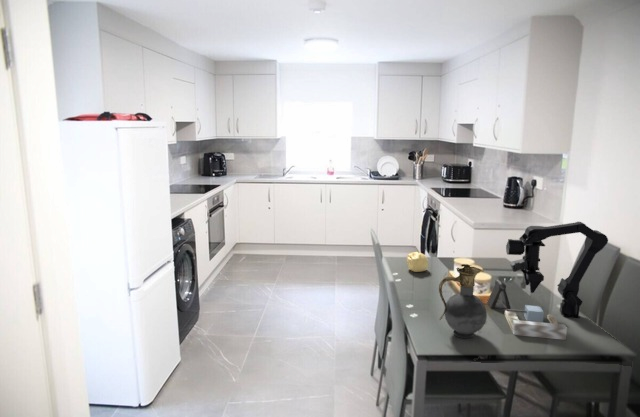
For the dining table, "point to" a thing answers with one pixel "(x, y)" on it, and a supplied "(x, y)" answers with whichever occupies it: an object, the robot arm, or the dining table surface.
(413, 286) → the dining table surface
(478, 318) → the pitcher
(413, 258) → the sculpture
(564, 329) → the beige grey patterned tray
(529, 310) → the pale blue mallet
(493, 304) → the phone stand
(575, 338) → the dining table surface
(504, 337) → the dining table surface
